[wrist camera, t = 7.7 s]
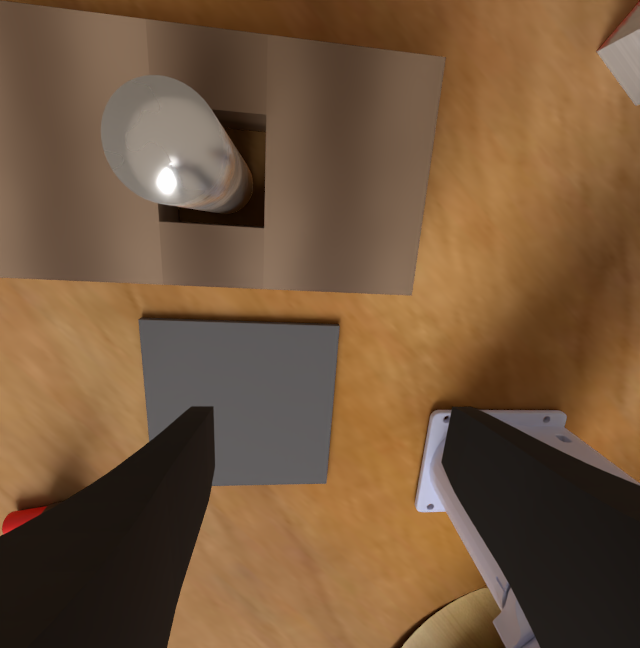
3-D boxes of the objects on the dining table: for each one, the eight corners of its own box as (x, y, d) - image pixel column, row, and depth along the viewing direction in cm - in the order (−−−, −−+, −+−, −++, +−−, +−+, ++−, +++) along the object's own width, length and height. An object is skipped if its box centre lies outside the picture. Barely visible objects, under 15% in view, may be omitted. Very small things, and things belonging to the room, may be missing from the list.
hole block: (418, 84, 17) (445, 57, 14) (393, 284, 20) (411, 295, 17) (-5, 34, 15) (-74, -9, 12) (34, 267, 18) (-13, 277, 15)
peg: (252, 152, 17) (221, 80, 9) (253, 215, 18) (224, 207, 9) (190, 148, 17) (92, 69, 8) (194, 212, 18) (108, 201, 9)
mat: (338, 324, 20) (339, 326, 20) (325, 479, 23) (326, 483, 23) (141, 317, 19) (138, 319, 19) (155, 482, 22) (153, 486, 22)
